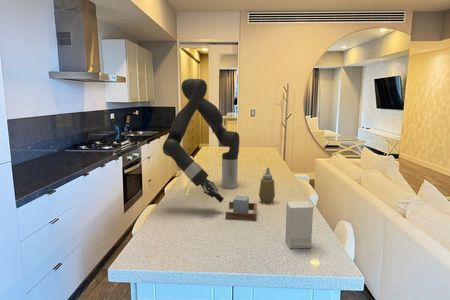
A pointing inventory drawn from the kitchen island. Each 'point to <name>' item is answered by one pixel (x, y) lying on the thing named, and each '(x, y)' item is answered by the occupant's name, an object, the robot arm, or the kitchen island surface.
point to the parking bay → (242, 215)
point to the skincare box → (299, 224)
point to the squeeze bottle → (267, 188)
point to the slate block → (241, 204)
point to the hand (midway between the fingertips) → (222, 200)
